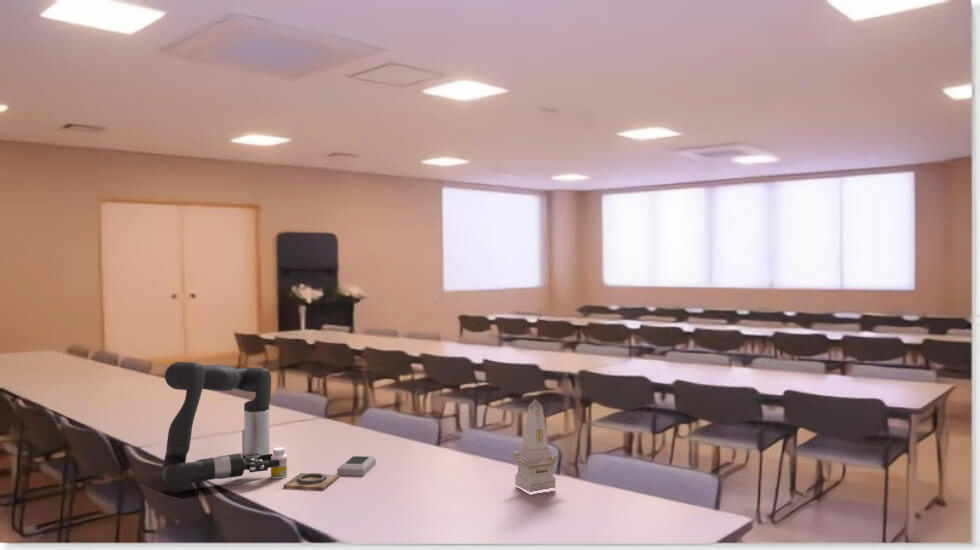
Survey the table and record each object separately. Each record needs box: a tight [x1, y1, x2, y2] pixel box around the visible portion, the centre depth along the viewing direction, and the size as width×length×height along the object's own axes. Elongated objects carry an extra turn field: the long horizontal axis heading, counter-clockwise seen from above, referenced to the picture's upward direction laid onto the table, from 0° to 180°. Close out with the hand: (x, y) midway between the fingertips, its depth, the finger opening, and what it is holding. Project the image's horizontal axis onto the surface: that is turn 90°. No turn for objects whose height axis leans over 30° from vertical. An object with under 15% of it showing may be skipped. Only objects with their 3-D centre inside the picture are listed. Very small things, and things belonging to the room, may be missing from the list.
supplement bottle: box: [270, 446, 288, 479], centre depth 263 cm, size 5×5×10 cm
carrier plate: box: [282, 472, 340, 491], centre depth 256 cm, size 14×14×2 cm
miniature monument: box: [513, 398, 558, 492], centre depth 249 cm, size 10×10×30 cm
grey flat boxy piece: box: [336, 455, 377, 477], centre depth 272 cm, size 10×4×15 cm
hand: (275, 459), depth 262 cm, fingers open, 8 cm apart
